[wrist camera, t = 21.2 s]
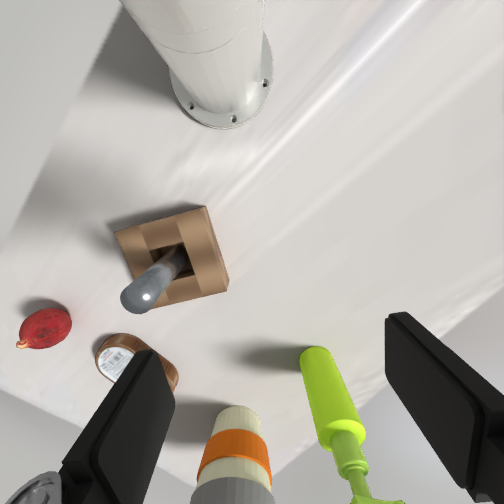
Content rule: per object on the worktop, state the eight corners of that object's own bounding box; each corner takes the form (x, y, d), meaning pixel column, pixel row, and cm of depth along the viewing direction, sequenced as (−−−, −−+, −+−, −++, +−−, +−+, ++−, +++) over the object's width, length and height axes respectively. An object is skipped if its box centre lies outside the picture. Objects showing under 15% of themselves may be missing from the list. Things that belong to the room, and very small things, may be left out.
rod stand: (129, 226, 35) (114, 232, 31) (206, 206, 34) (199, 209, 30) (159, 296, 38) (148, 309, 34) (229, 279, 37) (226, 291, 33)
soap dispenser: (332, 376, 43) (395, 535, 24) (295, 370, 42) (330, 526, 23) (342, 350, 41) (419, 499, 22) (304, 343, 41) (348, 488, 21)
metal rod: (166, 248, 35) (115, 289, 22) (185, 243, 35) (145, 282, 21) (173, 266, 36) (128, 317, 22) (192, 261, 36) (157, 310, 22)
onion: (74, 296, 38) (29, 325, 31) (88, 326, 40) (49, 360, 32) (42, 302, 39) (-11, 332, 31) (57, 332, 40) (11, 367, 33)
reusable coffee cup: (258, 451, 48) (260, 565, 34) (199, 437, 47) (176, 548, 33) (278, 407, 45) (290, 513, 31) (215, 391, 44) (197, 494, 30)
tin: (121, 324, 40) (95, 351, 42) (109, 337, 37) (82, 364, 39) (188, 375, 43) (160, 397, 45) (182, 390, 40) (153, 413, 42)
